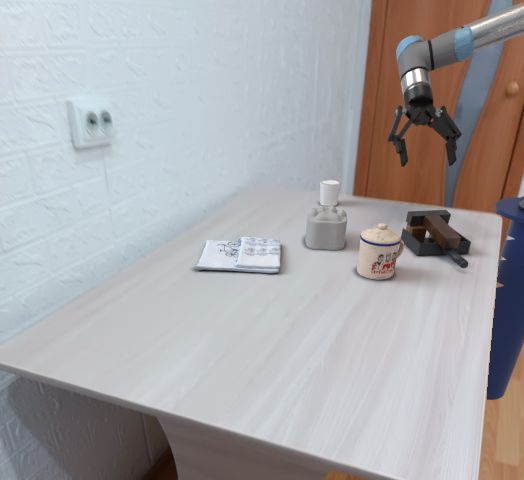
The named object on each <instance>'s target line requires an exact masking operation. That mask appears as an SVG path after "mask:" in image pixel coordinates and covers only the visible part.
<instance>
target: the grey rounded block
mask: <svg viewBox="0 0 524 480" xmlns="http://www.w3.org/2000/svg"><path fill="white" fill-rule="evenodd" d="M347 225H348V216H347V212H346V210H345V209H338V208H337V207H336V206H323V205H319V206H318V207H316V208H310V209H309V210H308V212H307V215H306V227H305V238H304V239H305V245H306V247H308V248H309V249H311V250H328V251H330V250H331V251H339V250H342V249H344V248H345V243H346V235H347V227H348V226H347Z"/></svg>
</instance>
